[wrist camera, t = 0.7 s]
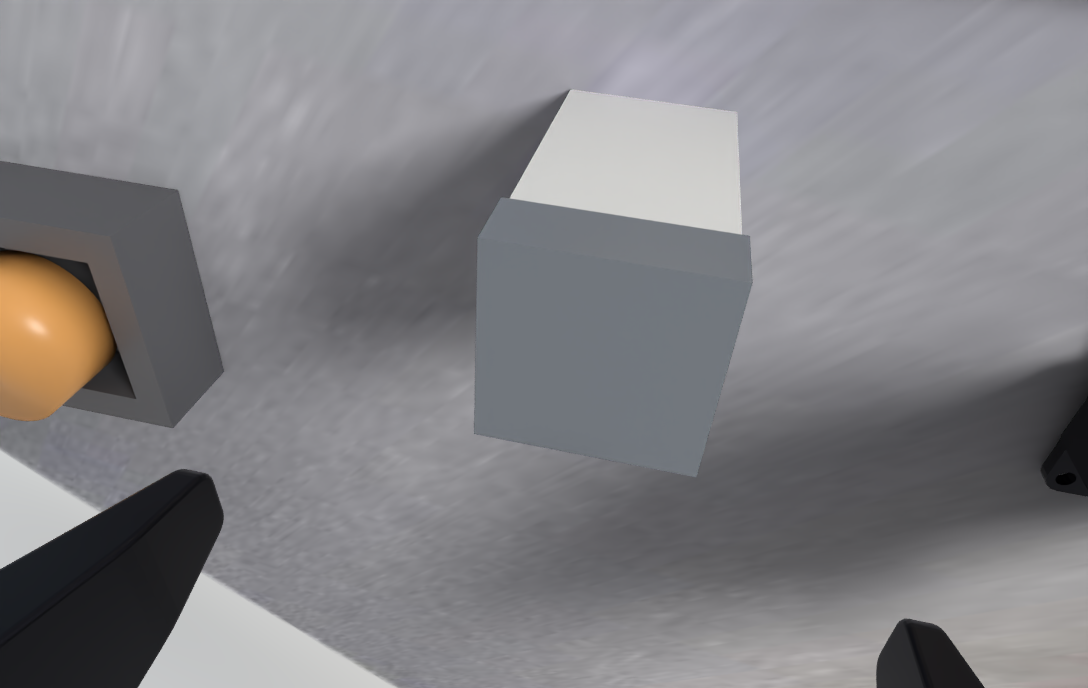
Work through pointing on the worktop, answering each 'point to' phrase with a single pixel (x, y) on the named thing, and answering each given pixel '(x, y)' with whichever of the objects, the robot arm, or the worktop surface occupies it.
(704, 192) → the two-tone grey block
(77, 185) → the button housing
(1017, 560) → the worktop surface
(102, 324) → the button
